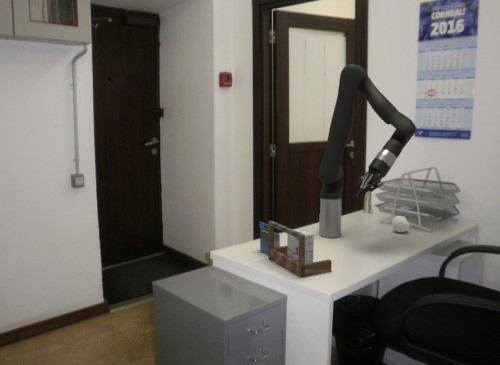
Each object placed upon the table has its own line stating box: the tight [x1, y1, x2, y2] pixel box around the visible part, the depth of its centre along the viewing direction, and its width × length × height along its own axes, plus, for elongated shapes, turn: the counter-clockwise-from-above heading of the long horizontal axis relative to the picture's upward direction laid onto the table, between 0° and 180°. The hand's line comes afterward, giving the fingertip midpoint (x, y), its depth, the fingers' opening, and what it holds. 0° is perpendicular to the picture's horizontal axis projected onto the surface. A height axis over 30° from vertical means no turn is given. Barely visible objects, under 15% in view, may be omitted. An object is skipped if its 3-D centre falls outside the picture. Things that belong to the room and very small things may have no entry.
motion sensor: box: [391, 215, 411, 234], centre depth 210 cm, size 8×8×8 cm
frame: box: [267, 220, 333, 278], centre depth 167 cm, size 23×12×15 cm, turn 26°
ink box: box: [286, 230, 315, 264], centre depth 168 cm, size 9×5×12 cm, turn 111°
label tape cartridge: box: [259, 221, 281, 255], centre depth 183 cm, size 9×4×12 cm, turn 33°
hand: (358, 197), depth 180 cm, fingers closed
